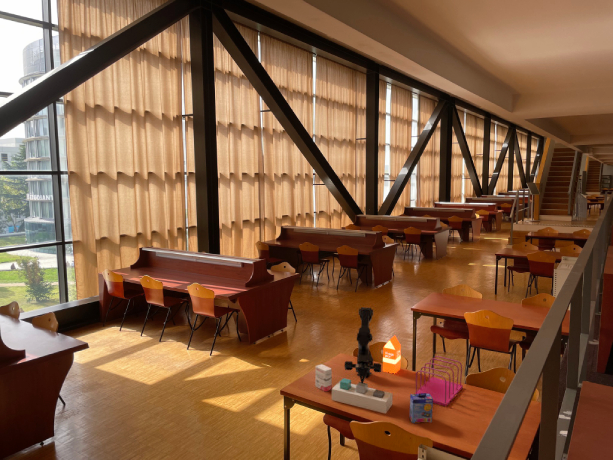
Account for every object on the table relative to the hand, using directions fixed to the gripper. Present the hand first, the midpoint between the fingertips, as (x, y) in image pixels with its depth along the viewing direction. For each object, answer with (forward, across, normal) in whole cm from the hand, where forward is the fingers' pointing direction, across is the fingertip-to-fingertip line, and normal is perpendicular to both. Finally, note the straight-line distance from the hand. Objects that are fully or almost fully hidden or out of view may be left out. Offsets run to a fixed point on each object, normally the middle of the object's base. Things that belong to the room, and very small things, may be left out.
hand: (362, 383), depth 244 cm
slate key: (+3, 0, +3) cm, 5 cm away
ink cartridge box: (+16, +28, -1) cm, 33 cm away
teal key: (+1, -9, +5) cm, 10 cm away
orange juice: (-21, +15, +36) cm, 45 cm away
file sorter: (-4, +40, +20) cm, 44 cm away
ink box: (-1, -21, +16) cm, 27 cm away
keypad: (+7, 0, +7) cm, 10 cm away
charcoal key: (+7, +8, +3) cm, 11 cm away
